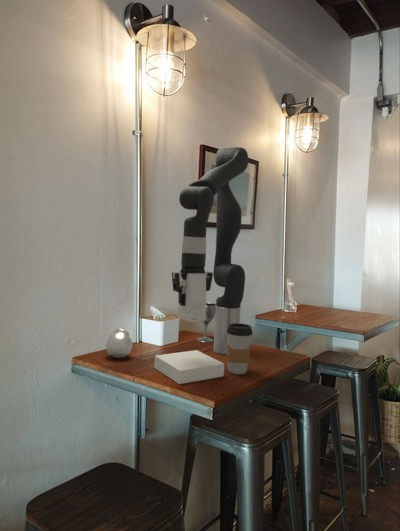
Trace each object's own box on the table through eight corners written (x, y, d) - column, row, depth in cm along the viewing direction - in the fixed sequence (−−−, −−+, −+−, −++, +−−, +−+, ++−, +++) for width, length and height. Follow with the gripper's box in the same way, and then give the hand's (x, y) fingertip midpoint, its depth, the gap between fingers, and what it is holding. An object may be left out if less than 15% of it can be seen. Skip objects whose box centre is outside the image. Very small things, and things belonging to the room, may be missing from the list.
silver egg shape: (137, 356, 148) (139, 328, 147) (120, 363, 139) (121, 333, 139) (117, 351, 152) (118, 324, 151) (99, 357, 144) (100, 329, 143)
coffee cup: (224, 366, 142) (226, 322, 140) (249, 367, 141) (251, 323, 140) (224, 374, 133) (227, 328, 132) (251, 376, 133) (254, 329, 132)
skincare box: (205, 321, 131) (208, 273, 130) (189, 322, 128) (191, 274, 127) (191, 316, 138) (194, 270, 137) (175, 317, 135) (177, 271, 134)
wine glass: (191, 339, 174) (193, 303, 173) (203, 336, 180) (205, 301, 179) (206, 343, 169) (208, 306, 168) (218, 340, 175) (220, 304, 174)
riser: (196, 361, 145) (196, 350, 145) (223, 376, 132) (224, 363, 131) (154, 367, 136) (154, 355, 136) (179, 384, 123) (179, 370, 123)
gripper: (206, 251, 138) (203, 301, 140) (167, 250, 130) (165, 304, 132) (219, 252, 132) (216, 306, 133) (179, 252, 124) (177, 308, 126)
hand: (191, 304), depth 133 cm, fingers closed on skincare box, 6 cm apart
